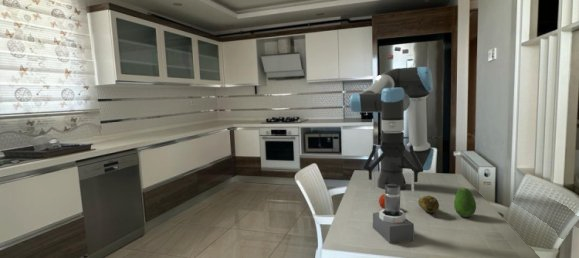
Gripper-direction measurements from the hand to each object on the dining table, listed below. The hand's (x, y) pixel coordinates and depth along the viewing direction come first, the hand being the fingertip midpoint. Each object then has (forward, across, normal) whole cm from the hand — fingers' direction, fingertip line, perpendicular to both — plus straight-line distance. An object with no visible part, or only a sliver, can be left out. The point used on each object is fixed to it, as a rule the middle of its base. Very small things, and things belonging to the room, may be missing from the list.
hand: (392, 189), depth 114 cm
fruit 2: (+17, +28, +23) cm, 40 cm away
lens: (+11, 0, 0) cm, 11 cm away
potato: (+17, +14, +25) cm, 33 cm away
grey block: (+17, 0, -1) cm, 17 cm away
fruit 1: (+17, -3, +24) cm, 30 cm away
